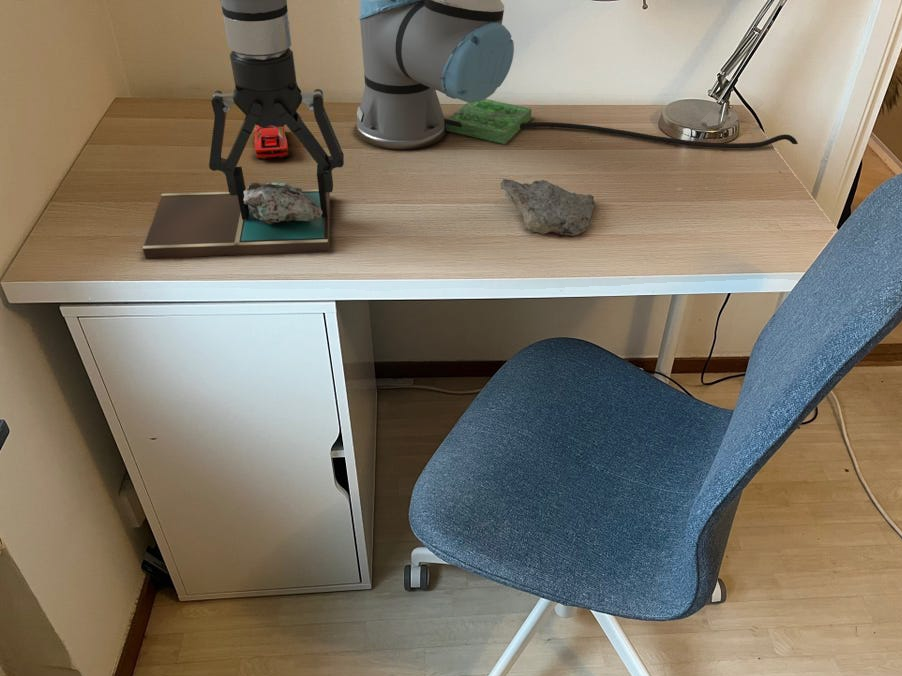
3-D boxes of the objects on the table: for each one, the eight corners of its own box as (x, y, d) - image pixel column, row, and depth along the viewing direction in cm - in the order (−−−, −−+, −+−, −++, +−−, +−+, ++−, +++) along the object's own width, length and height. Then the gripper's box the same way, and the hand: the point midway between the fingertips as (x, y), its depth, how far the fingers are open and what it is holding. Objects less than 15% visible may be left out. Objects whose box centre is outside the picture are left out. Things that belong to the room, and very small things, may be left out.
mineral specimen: (262, 245, 103) (255, 204, 99) (231, 206, 110) (223, 167, 106) (329, 226, 107) (325, 187, 103) (295, 190, 115) (290, 152, 110)
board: (330, 198, 117) (329, 188, 115) (328, 251, 106) (327, 241, 104) (164, 203, 114) (161, 193, 113) (145, 258, 103) (142, 248, 102)
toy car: (254, 132, 133) (251, 114, 130) (285, 130, 134) (282, 112, 132) (256, 163, 124) (253, 144, 122) (289, 161, 125) (287, 142, 123)
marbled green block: (530, 119, 141) (531, 105, 139) (505, 144, 133) (505, 130, 131) (474, 107, 144) (475, 93, 143) (446, 130, 136) (446, 116, 134)
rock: (578, 221, 106) (484, 184, 111) (570, 249, 108) (479, 211, 113) (613, 196, 116) (526, 163, 121) (606, 222, 119) (521, 189, 123)
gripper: (354, 38, 98) (366, 197, 113) (168, 39, 96) (205, 203, 110) (355, 59, 93) (367, 224, 108) (158, 61, 90) (198, 230, 105)
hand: (285, 213), depth 109 cm, fingers closed on mineral specimen, 10 cm apart
